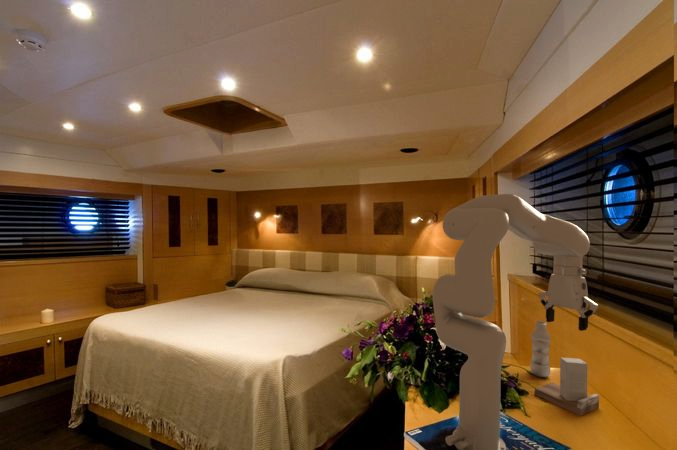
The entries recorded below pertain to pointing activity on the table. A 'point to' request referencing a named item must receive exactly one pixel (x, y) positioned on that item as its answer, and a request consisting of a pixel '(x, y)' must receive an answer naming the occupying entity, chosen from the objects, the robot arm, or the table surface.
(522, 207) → the robot arm
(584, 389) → the skincare box
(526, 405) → the table surface
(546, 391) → the shelf board
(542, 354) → the plastic bottle
